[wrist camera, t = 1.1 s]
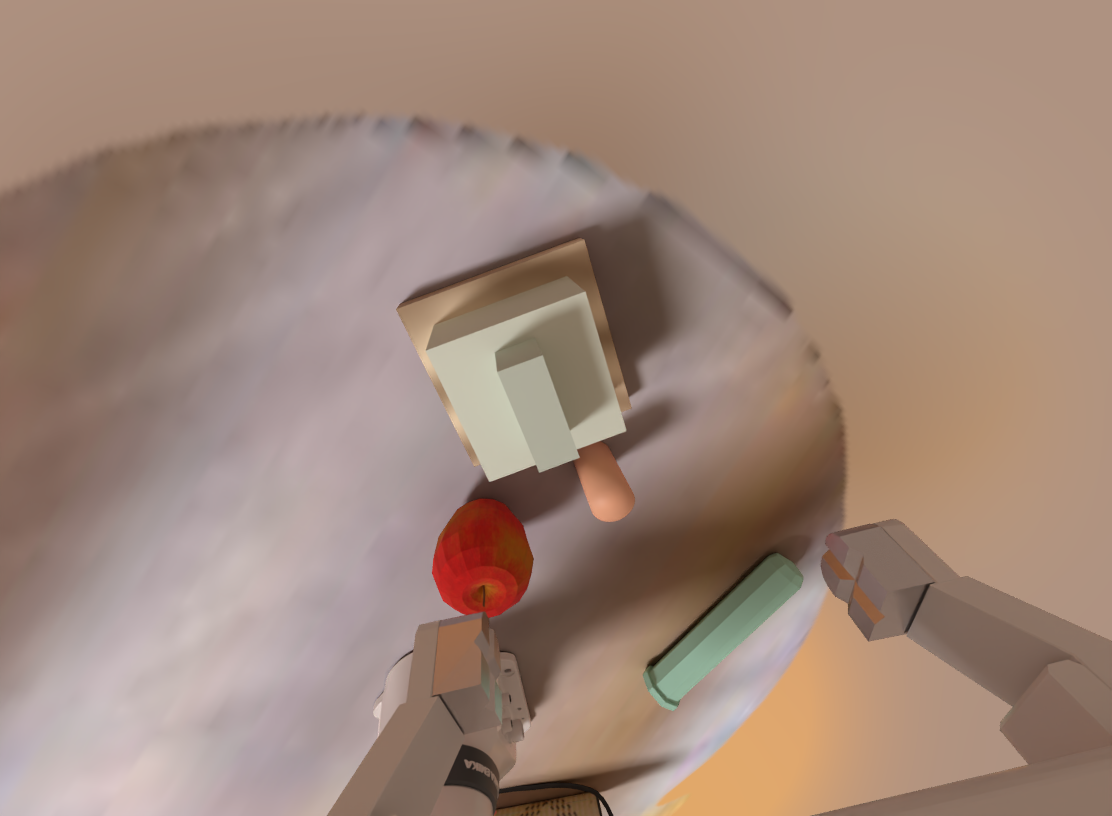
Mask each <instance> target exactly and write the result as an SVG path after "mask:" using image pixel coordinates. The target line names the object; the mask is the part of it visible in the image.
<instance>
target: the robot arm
mask: <svg viewBox="0 0 1112 816" xmlns="http://www.w3.org/2000/svg"><path fill="white" fill-rule="evenodd" d="M825 544H826V546H827V547H828V548H829V550H828V551H827V552H826V553H825V554H824V555H823V556H822V560H821V570H822V574H823V578H824V580H825V581H826V583H827V585H828V587H829V589H830V590H831V591H832V593H833V594H834V595H835V597H837V598H839V599H841V600H843V601H845V602H846V603H848V614H849V616H850V617H851V618H852V620H853V621H854V623H855V624H856V625H857V627H858V628H859V629H860V630H861V632H862V633H863V635H864V636H865V637H866V638H867V640H868V641H873V640H879V639H884V638H889V637H894V636H899V635H904V634H907V637H908V638H910V639H911V640H913V641H914V642H916V643H917V644H919V645H920V646H922V647H923V648H925V649H926V650H928V651H929V652H931V653H932V654H934V655H935V656H937V657H939V658H940V659H941V660H943V661H944V662H946V663H948V664H949V665H950V666H952V667H954V668H955V669H957V670H958V671H960V672H961V673H963V674H964V675H966V676H967V677H969V678H970V679H972V680H973V681H975V682H976V683H978V684H979V685H981V686H982V687H984V688H985V689H987V690H988V691H990V692H991V693H993V694H994V695H996V696H998V697H999V698H1000V699H1002V700H1003V701H1005V702H1006V703H1008V704H1009V705H1011V706H1013V707H1012V709H1011V710H1010V711H1009V712H1008V713H1007V715H1006V716H1005V717H1004V718H1003V719H1002V721H1001V722H1000V731H1001V732H1002V733H1003V734H1004V735H1005V737H1006V738H1007V739H1008V740H1009V741H1010V743H1011V744H1012V745H1013V746H1014V747H1015V749H1016V750H1017V751H1018V752H1019V754H1020V755H1021V756H1022V757H1023V758H1024V760H1025V761H1026V762H1027V763H1028V764H1029V765H1025V766H1021V767H1016V768H1012V769H1008V770H1004V771H1000V772H995V773H991V774H987V775H983V776H978V777H974V778H970V779H965V780H961V781H957V782H952V783H948V784H944V785H940V786H935V787H931V788H927V789H923V790H918V791H914V792H910V793H906V794H901V795H897V796H893V797H889V798H884V799H880V800H876V801H872V802H868V803H863V804H859V805H854V806H850V807H846V808H842V809H838V810H833V811H829V812H824V813H820V814H816V815H812V816H1112V641H1111V640H1108V639H1106V638H1104V637H1102V636H1100V635H1097V634H1095V633H1093V632H1091V631H1088V630H1086V629H1084V628H1082V627H1079V626H1077V625H1075V624H1073V623H1071V622H1068V621H1066V620H1064V619H1061V618H1059V617H1057V616H1055V615H1053V614H1050V613H1048V612H1046V611H1044V610H1042V609H1039V608H1037V607H1035V606H1033V605H1030V604H1028V603H1026V602H1023V601H1021V600H1019V599H1017V598H1015V597H1013V596H1010V595H1008V594H1006V593H1003V592H1001V591H999V590H997V589H995V588H992V587H990V586H988V585H986V584H984V583H981V582H979V581H977V580H975V579H973V578H970V577H968V576H965V577H959V576H958V575H957V574H956V573H955V572H954V571H953V570H952V569H951V568H950V567H949V566H948V565H947V564H946V563H945V562H943V560H942V559H940V558H939V557H938V556H937V555H936V554H935V553H934V552H933V551H932V550H931V549H930V548H929V547H928V546H927V545H926V544H925V543H924V542H923V541H921V540H920V538H918V537H917V536H916V535H915V534H914V533H913V532H912V531H911V530H910V529H909V528H908V527H907V526H906V525H905V524H904V523H902V522H901V521H898V520H896V519H890V520H886V521H882V522H878V523H874V524H867V525H863V526H859V527H854V528H850V529H846V530H842V531H838V532H834V533H831V534H829V535H828V536H827V538H826V542H825ZM373 714H374V716H375V717H376V718H378V719H379V729H378V738H377V740H376V741H375V743H374V744H373V746H372V747H371V749H370V750H369V752H368V753H367V755H366V756H365V758H364V760H363V761H362V763H361V764H360V766H359V767H358V769H357V770H356V772H355V773H354V775H353V776H352V778H351V779H350V781H349V783H348V784H347V786H346V787H345V789H344V790H343V792H342V793H341V795H340V796H339V798H338V799H337V801H336V803H335V804H334V806H333V807H332V809H331V810H330V812H329V813H328V815H327V816H494V815H495V814H497V811H496V806H497V799H498V797H499V781H500V780H501V779H502V778H503V777H504V776H505V775H506V774H507V773H508V772H509V771H510V770H511V769H512V768H513V767H514V765H515V763H516V742H519V741H523V740H524V733H525V732H526V731H527V730H528V729H529V728H530V726H531V718H530V713H529V709H528V705H527V701H526V697H525V693H524V689H523V685H522V681H521V677H520V673H519V669H518V665H517V661H516V657H515V656H514V655H513V654H511V653H506V652H500V651H499V644H498V640H497V637H496V634H495V632H494V630H493V629H491V628H489V618H488V616H487V614H486V612H485V611H482V612H478V613H473V614H468V615H464V616H459V617H454V618H450V619H445V620H439V621H434V622H430V623H426V624H421V625H419V627H418V629H417V632H416V635H415V642H414V649H413V653H411V654H409V655H407V656H406V657H404V658H403V659H401V660H400V661H399V662H398V663H397V664H396V665H395V666H394V667H393V668H392V669H391V671H390V672H389V674H388V677H387V679H386V684H385V689H384V692H383V693H382V694H381V695H380V697H379V698H378V699H377V700H376V702H375V703H374V709H373Z"/></svg>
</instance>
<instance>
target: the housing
mask: <svg viewBox="0 0 1112 816" xmlns="http://www.w3.org/2000/svg"><path fill="white" fill-rule="evenodd" d="M426 353H427V355H428V357H429V359H430V361H431V363H432V365H433V367H434V369H435V371H436V373H437V375H438V377H439V380H440V382H441V384H442V386H443V388H444V390H445V392H446V394H447V396H448V398H449V400H450V402H451V404H452V406H453V408H454V410H455V412H456V414H457V416H458V419H459V421H460V423H461V425H462V427H463V429H464V431H465V433H466V435H467V437H468V439H469V441H470V443H471V445H472V447H473V449H474V451H475V453H476V455H477V457H478V460H479V462H480V464H481V466H482V468H483V470H484V472H485V474H486V476H487V478H488V480H489V482H491V481H494V480H496V479H499V478H502V477H505V476H507V475H510V474H513V473H515V472H518V471H521V470H523V469H526V468H529V467H531V466H534V465H536V466H537V468H538V471H539V473H540V472H543V471H545V470H548V469H551V468H553V467H556V466H559V465H561V464H564V463H567V462H570V461H572V460H575V459H578V458H580V457H579V454H578V452H577V449H580V448H582V447H585V446H588V445H590V444H593V443H596V442H598V441H601V440H604V439H606V438H609V437H612V436H615V435H617V434H620V433H623V432H625V431H626V428H625V424H624V421H623V417H622V414H621V411H620V407H619V404H618V400H617V397H616V394H615V390H614V387H613V383H612V380H611V377H610V373H609V370H608V366H607V363H606V360H605V356H604V353H603V349H602V346H601V343H600V339H599V336H598V332H597V329H596V326H595V322H594V319H593V315H592V312H591V309H590V305H589V302H588V298H587V295H586V292H585V291H584V290H583V289H582V288H581V287H579V286H578V285H577V284H576V283H575V282H573V281H572V280H571V279H570V278H569V277H567V276H565V277H563V278H560V279H557V280H555V281H552V282H549V283H546V284H544V285H541V286H538V287H536V288H533V289H530V290H528V291H525V292H522V293H519V294H517V295H514V296H511V297H509V298H506V299H503V300H500V301H498V302H495V303H492V304H490V305H487V306H484V307H482V308H479V309H476V310H473V311H471V312H468V313H465V314H463V315H460V316H457V317H455V318H452V319H449V320H446V321H444V322H441V323H438V324H436V325H434V326H433V329H432V332H431V336H430V339H429V342H428V345H427V348H426Z"/></svg>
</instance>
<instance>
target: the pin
mask: <svg viewBox="0 0 1112 816" xmlns="http://www.w3.org/2000/svg"><path fill="white" fill-rule="evenodd" d="M577 452H578V454H579V457H580V458H578V459H575V460H573V461H574V465H575V468H576V470H577V473H578V476H579V478H580V481H581V484H582V486H583V489H584V492H585V494H586V497H587V500H588V502H589V505H590V508H591V510H592V513H593V514H594V516H595V517H596V518H598V519H599V520H602V521H606V522H613V521H617V520H620V519H622V518H624V517H625V516H626V515H628V514H629V513H630V511H631V510H632V508H633V506H634V503H635V497H634V494H633V492H632V490H631V488H630V486H629V484H628V483H627V481H626V479H625V477H624V475H623V473H622V471H621V470H620V468H619V466H618V464H617V462H616V460H615V458H614V456H613V455H612V453H611V451H610V449H609V447H608V446H607V445H606V444H605V443H603V442H601V441H598V442H596V443H593V444H590V445H588V446H585V447H582V448H580V449H577Z"/></svg>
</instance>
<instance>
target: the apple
mask: <svg viewBox="0 0 1112 816" xmlns="http://www.w3.org/2000/svg"><path fill="white" fill-rule="evenodd" d="M533 560H534V558H533V555H532V552H531V550H530V547H529V544H528V541H527V538H526V534H525V530H524V527H523V525H522V524H521V522H520V521H519V520H518V519H517V518H516V517H515V515H514V514H513V513H512V512H511V511H510V510H509V508H508V507H507V506H506V505H505V504H503V503H501V502H499V501H496V500H494V499H481V498H480V499H477V500H474V501H471V502H468V503H466V504H465V505H463V506H462V507H460V508H459V509H457V511H456V512H455V514H454V515H453V516H452V518H451V519H450V521H449V522H448V524H447V525H446V527H445V528H444V530H443V531H442V533H441V534H440V536H439V538H438V542H437V546H436V550H435V554H434V559H433V569H432V574H433V577H434V580H435V582H436V585H437V587H438V590H439V592H440V595H441V597H442V599H443V601H444V602H445V603H447V604H448V605H450V606H451V607H452V608H454V609H455V610H457V611H459V612H460V613H462V614H465V615H468V614H473V613H478V612H482V611H485V612H486V614H487V616H488V618H490V617H494V616H497V615H500V614H502V613H503V612H504V611H506V610H507V609H509V608H510V607H512V606H513V605H515V604H516V603H518V602H519V601H520V599H521V598H522V596H523V594H524V593H525V591H526V590H527V587H528V584H529V580H530V577H531V573H532V567H533Z"/></svg>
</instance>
